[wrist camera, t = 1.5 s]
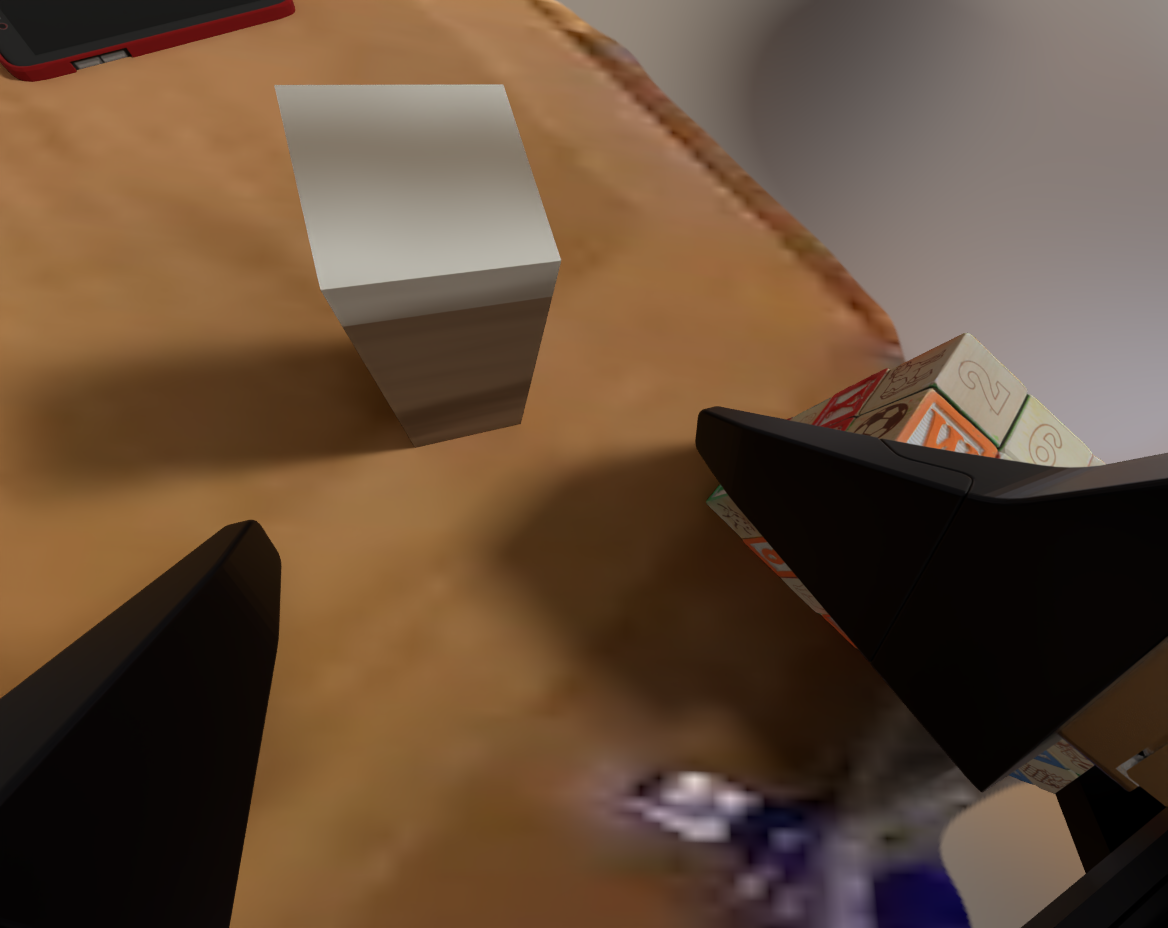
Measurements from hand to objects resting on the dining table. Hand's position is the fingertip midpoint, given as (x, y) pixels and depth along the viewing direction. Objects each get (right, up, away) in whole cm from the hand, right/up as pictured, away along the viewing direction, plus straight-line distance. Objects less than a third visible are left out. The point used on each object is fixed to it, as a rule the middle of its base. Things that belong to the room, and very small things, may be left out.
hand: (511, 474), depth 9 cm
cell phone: (-24, +26, +16) cm, 39 cm away
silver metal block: (-5, +4, +14) cm, 15 cm away
